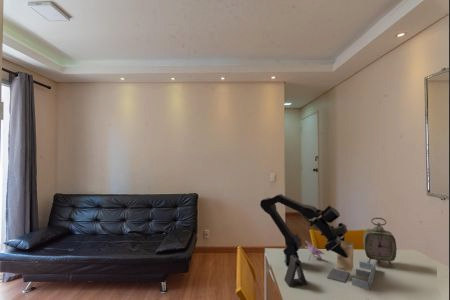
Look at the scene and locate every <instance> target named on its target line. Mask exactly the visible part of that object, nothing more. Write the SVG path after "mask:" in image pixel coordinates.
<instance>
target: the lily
mask: <svg viewBox="0 0 450 300" xmlns="http://www.w3.org/2000/svg"><path fill="white" fill-rule="evenodd" d="M305 243H306V244H307V246H304V248H305V249H307V250H308V251H309V252H310V255H309V258H308V260H310V258H311V256H317V257H318V258H320V259H321V260H322V256H321V255H325V253H324V251H322V250H321V249H319V248H317V247H316V245H312V244H311V242H309V241H307V240H305Z"/></svg>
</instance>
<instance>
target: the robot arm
mask: <svg viewBox="0 0 450 300" xmlns="http://www.w3.org/2000/svg"><path fill="white" fill-rule="evenodd" d="M277 203H279V204H282V205H284V207H285V206H286V207H288V208H290V209H292V210H294V211H296V212H298V213H299V214H300V215H301V216H302V217H304V218H305V219H307V220H310V221H309V222H310V223H309V227H313V226H315V227H316V228H317V230H318V231H319V232H320V235H321V237H323V238H325V239H326V243H325V245H324V248H325V250H326V252H329V251H330V252H334V253H335V254H336V255H337V254H339V255H341V256H343V257H345V258H347V257H348V256H347V254H346V253H345V251H344V250H343V249H342V247H341V242H339V241H340V240H341V241H346V239H345V238H346V236H345V235H346V234H347V232H348V228H347V225H346V224H344V223H342V222H339V223H338V224H337V225H338V226H336V227H334V226H333V225H330V224H331V223H333V222H335V221H336V220H337V219H339V217H340V216H341V214H340V212H339V211H338V210H337V209H336V208H334V207H332V205H330V204H329V205H328V206H327V207H326V208H325V209H324V210H322V209H319V208H317V207H316V206H313V205H309V204H303V203H300V202H298V201H297V200H295V199H291V198H290V197H287V196H285V195H283V194H282V193H281V194H277V195H275V196H273V197H266V198H264V199H262V200H261V201H260V203H259V206H260V208H261V209H262V210H263V211H264V212H265V213H266V214H268V215H269V216H270V218H271V219H272V221H273V222H274V224H275V226H276V227H277V228H278V230H279V232H280V233H281V235H282V237H284V241H285V245H286V247H285V248H284V249H283V254H284V260H283V261H284V264H285V265H286V267H288V266H289V263H290V256H291V255H293V256H294V255H295V256H296V257H297V258H298V259H299V260H300V257H299V253H298V252H299V250H300V249H301V248H302V247H303V246H302V245H303V242H302V239H301V238H300V237H299V234H297V233H296V234H294V233H293V232H292V231H291V229H290V228H289V226H288V225H287V224H286V222H285V220H284V219H283V218H282V216H281V215H280V213H279V212H278V210H277V205H276V204H277ZM329 223H330V224H329ZM295 256H294V258H295Z"/></svg>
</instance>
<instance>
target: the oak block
mask: <svg viewBox="0 0 450 300" xmlns="http://www.w3.org/2000/svg"><path fill="white" fill-rule="evenodd" d="M339 242H341V247H342V249H343V250H344V251H345V253H346V254H347V256H348V257H347V258H345V257H343V256H341V255H339V254H337V253H336V255H337V259H336V260H337V261H336V262H337V266H336V267H337V268H336V269H337V270H341V271H345V272H349V273H352V271H353V269H354V242H351V241H346V240H345V241H341V240H340V241H339Z"/></svg>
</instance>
